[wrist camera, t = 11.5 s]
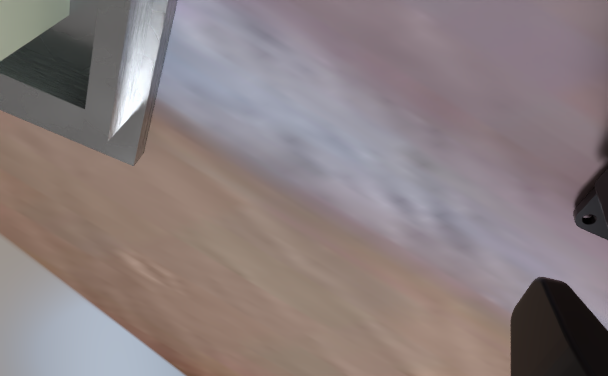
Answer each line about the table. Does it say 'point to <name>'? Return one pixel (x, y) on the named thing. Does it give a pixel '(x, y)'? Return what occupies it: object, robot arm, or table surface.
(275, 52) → the table surface
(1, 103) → the grey rectangular tray
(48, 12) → the sage block
